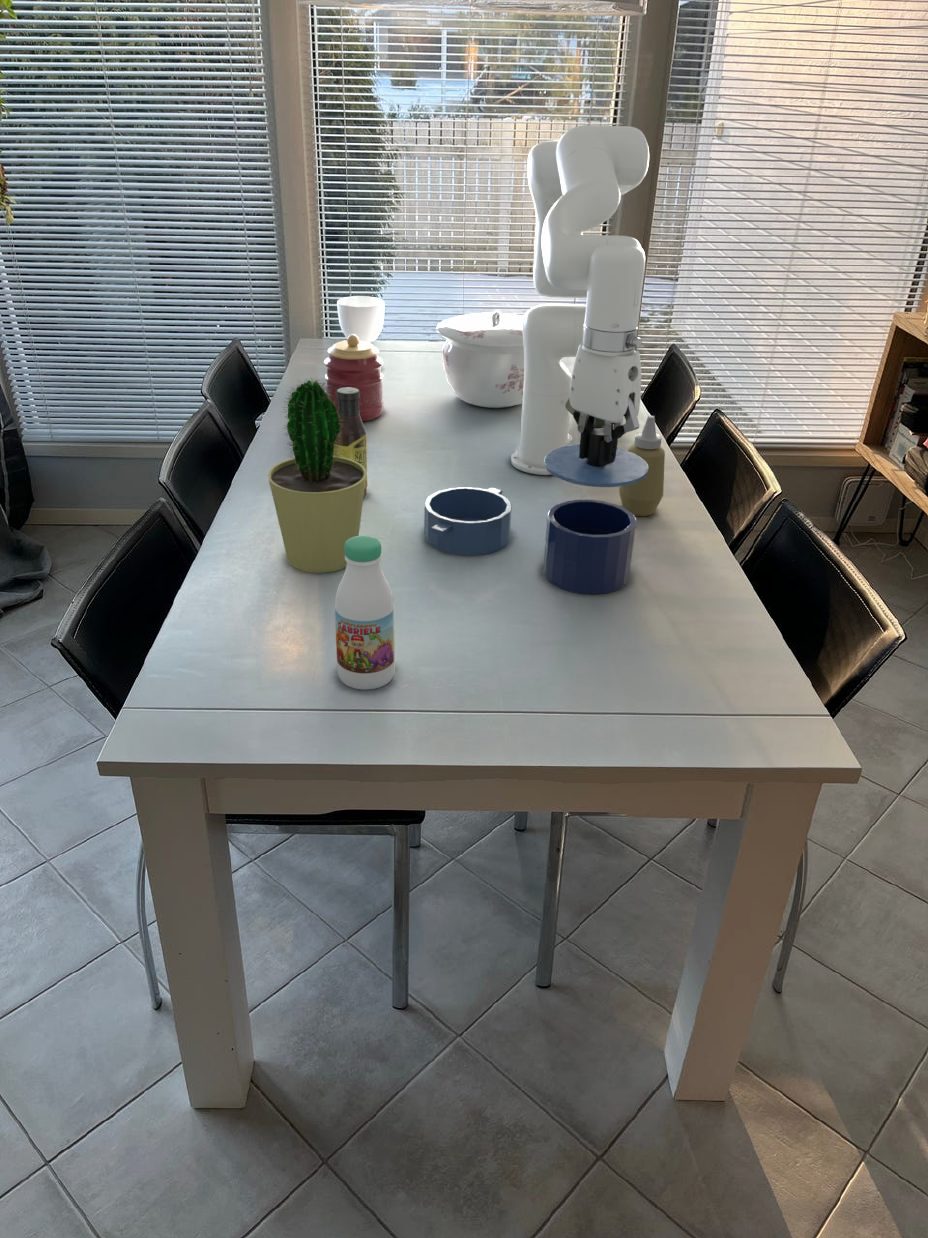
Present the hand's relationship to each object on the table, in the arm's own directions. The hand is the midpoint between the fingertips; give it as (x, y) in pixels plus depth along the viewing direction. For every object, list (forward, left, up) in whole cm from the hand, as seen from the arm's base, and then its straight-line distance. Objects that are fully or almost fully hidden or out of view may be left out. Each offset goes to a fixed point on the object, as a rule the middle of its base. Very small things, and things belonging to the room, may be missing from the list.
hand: (596, 459), depth 147 cm
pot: (0, 0, -20) cm, 20 cm away
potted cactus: (+19, -39, -20) cm, 48 cm away
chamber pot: (-68, -55, -20) cm, 90 cm away
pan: (-1, -23, -20) cm, 30 cm away
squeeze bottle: (-28, -2, -20) cm, 34 cm away
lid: (0, 0, -1) cm, 1 cm away
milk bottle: (+43, -13, -20) cm, 49 cm away
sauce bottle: (-4, -50, -20) cm, 54 cm away
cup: (-69, -94, -20) cm, 118 cm away
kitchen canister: (-41, -76, -20) cm, 88 cm away
